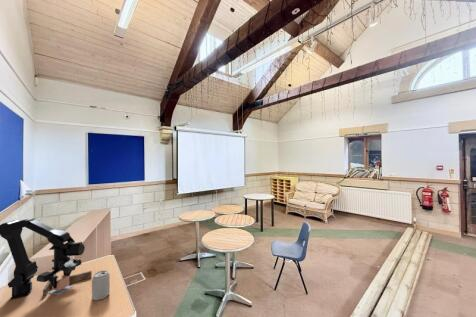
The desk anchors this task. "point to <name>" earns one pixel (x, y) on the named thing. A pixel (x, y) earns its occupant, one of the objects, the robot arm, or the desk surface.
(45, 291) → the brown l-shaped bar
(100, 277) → the can
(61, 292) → the pad
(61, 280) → the cube
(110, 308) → the desk surface
